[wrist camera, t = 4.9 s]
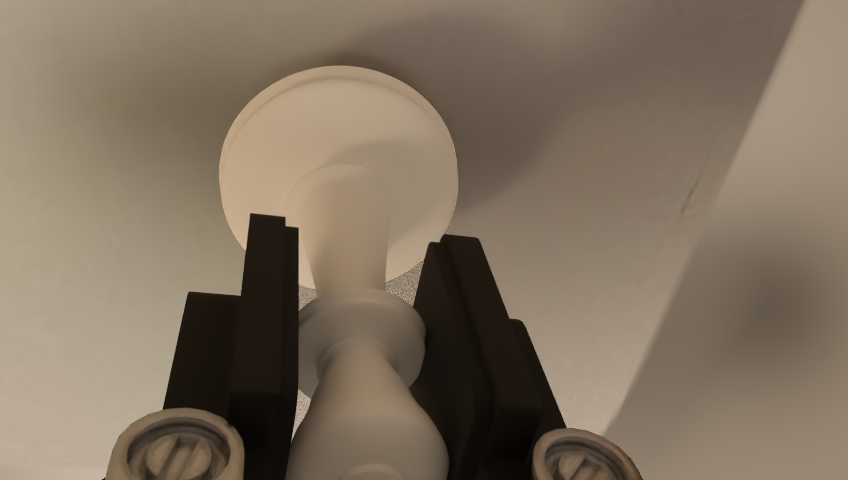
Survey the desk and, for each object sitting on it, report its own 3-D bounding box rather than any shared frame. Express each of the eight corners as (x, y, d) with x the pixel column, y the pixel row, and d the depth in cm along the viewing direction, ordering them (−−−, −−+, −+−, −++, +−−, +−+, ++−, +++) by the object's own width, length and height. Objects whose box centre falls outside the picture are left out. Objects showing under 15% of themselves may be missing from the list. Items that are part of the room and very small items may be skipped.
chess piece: (180, 223, 16) (43, 727, 8) (286, 17, 14) (261, 381, 6) (383, 307, 18) (456, 788, 9) (501, 134, 16) (726, 543, 7)
